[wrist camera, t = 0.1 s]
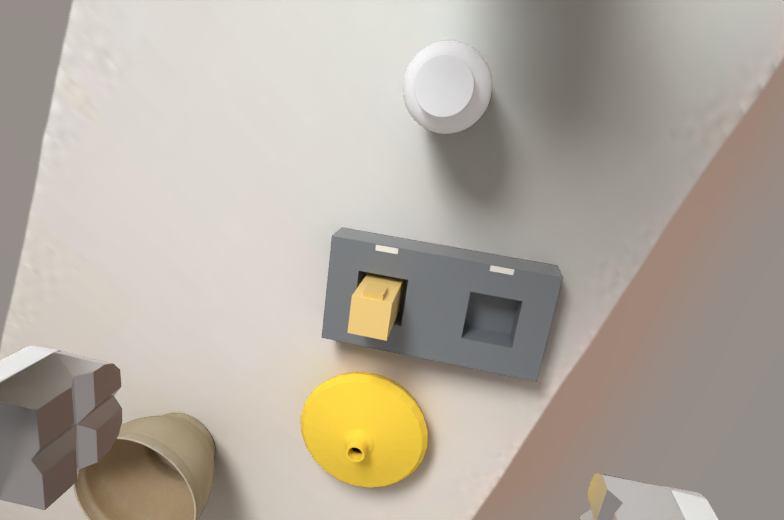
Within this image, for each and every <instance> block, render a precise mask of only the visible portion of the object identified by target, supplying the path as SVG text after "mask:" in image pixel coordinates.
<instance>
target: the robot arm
mask: <svg viewBox="0 0 784 520" xmlns="http://www.w3.org/2000/svg"><path fill="white" fill-rule="evenodd" d="M120 388H121V376H120V369H119V368H118V367H116V366H115V365H114V364H113V363H109V362H105V361H101V360H97V359H93V358H89V357H85V356H81V355H77V354H73V353H69V352H62V351H60V350H56V349H52V348H47V347H43V346H28V347H26V348H24V349H22V350H20V351H18V352H16V353H14V354H12V355H10V356H8V357H6V358H4V359H2V360H0V500H4V501H8V502H12V503H17V504H21V505H25V506H29V507H34V508H38V509H42V510H46V509H47V508H48V507H49V506H50V505H51V504H52V503H53V502H55V501H56V500H57V499H58V498H59V497H60V496H61V495H62V494H63V493H64V492H66V491H67V490H68V489H69V488H70V487H71V486H72V485H73V484H74V483H75V482H77V481H78V474H79V469H81V468H84V467H87V466H89V465H92V464H94V463H97V462H98V461H99V460H101V459H102V458H103V457H104V456H105V455H106V454H107V453H108V452H109V451H110V449H111V448H112V446H113V444H114V442H115V441H116V439H117V437H118V435H119V432H120V428H121V424H122V408H121V406H120V405H119V403H118V402H117V400H116V398H115V397H114V395H115V394H116V392H117V391H118V390H119V389H120ZM587 495H588V499H589V503H590V507H591V509H590V510H589V511H587V512H586V513H584V514H583V515H581V516H580V518H579V520H718V518H717V516H716V515H715V513H714V511H713V510H712V508H711V506H710V504H709V503H708V501H707V499H706V498H705V497H704V496H702V495H701V494H700V493H698V492H692V491H687V490H682V489H677V488H672V487H667V486H664V487H662V486H657V485H652V484H648V483H643V482H639V481H634V480H629V479H624V478H619V477H615V476H610V475H606V474H601V473H596V474H595V475H594V477H593V478H592V480H591V483H590V486H589V489H588V492H587Z"/></svg>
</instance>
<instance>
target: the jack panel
mask: <svg viewBox="0 0 784 520" xmlns="http://www.w3.org/2000/svg"><path fill="white" fill-rule="evenodd" d="M368 273H374V274H379V275H385V276H390V277H395V278H401V279H405V282H404V289H403V295H402V302H401V308H400V310H399V312H398V315H397V317H396V320H395V322H394V324H393V327H392V329H391V331H390V334H389V336H388V339H387V341H385V340H380V339H375V338H370V337H366V336H361V335H356V334H351V333H347V332H348V323H349V315H350V307H351V298H352V295H353V293H354V292H355V290H356V289H357V288H358V286H359V285H360V283H361V282H362V281H363V279H364V278H365V276H366V275H367V274H368ZM562 279H563V276H562V274H561V272H560V270H559V268H558V266H557V265H551V264H546V263H540V262H534V261H529V260H523V259H517V258H512V257H506V256H500V255H495V254H489V253H484V252H478V251H472V250H467V249H461V248H455V247H450V246H444V245H438V244H433V243H427V242H421V241H416V240H410V239H404V238H399V237H393V236H387V235H382V234H376V233H370V232H365V231H359V230H353V229H348V228H341V229H340V230H338V231H337V232H336V233H335V234H334V235H332V242H331V252H330V261H329V271H328V281H327V290H326V300H325V310H324V320H323V329H322V338H326V339H331V340H336V341H341V342H345V343H350V344H355V345H360V346H365V347H370V348H375V349H380V350H384V351H389V352H394V353H399V354H404V355H409V356H414V357H419V358H423V359H428V360H433V361H438V362H443V363H448V364H453V365H457V366H462V367H467V368H472V369H477V370H482V371H487V372H492V373H496V374H501V375H506V376H511V377H516V378H521V379H526V380H531V381H535V382H537V378H538V374H539V370H540V366H541V362H542V358H543V354H544V350H545V346H546V342H547V338H548V334H549V330H550V326H551V323H552V319H553V315H554V311H555V307H556V303H557V299H558V295H559V291H560V287H561V283H562Z"/></svg>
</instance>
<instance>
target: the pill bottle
mask: <svg viewBox="0 0 784 520" xmlns="http://www.w3.org/2000/svg"><path fill="white" fill-rule="evenodd" d="M491 93H492V78H491V73H490V70H489V67H488V65H487V63H486V62H485V60H484V58H483V57H482V56H481V55H480V53H479V52H477V51H476V50H475V49H474V48H472V47H471V46H469V45H467V44H465V43H462V42H459V41H452V40H445V41H439V42H436V43H433V44H431V45H429V46H427V47H425V48H424V49H422V50H421V51H420V52H419V53H418V54H417V55H416V56H415V57H414V58H413V59H412V61H411V62H410V64H409V66H408V68H407V70H406V73H405V76H404V81H403V97H404V101H405V105H406V107H407V109H408V111H409V113H410V114H411V116H412V117H413V119H414V120H415V121H416V122H417V123H418V124H419V125H421V126H422V127H424V128H426V129H427V130H430V131H432V132H435V133H441V134H451V133H456V132H460V131H463V130H465V129H467V128H469V127H470V126H472V125H473V124H474V123H476V122H477V121H478V120H479V119H480V118H481V117H482V115H483V114H484V113H485V111H486V109H487V107H488V105H489V102H490V98H491Z"/></svg>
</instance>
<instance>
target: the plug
mask: <svg viewBox="0 0 784 520" xmlns="http://www.w3.org/2000/svg"><path fill="white" fill-rule="evenodd" d="M404 282H405V279H401V278H395V277H390V276H385V275H379V274H374V273H368V274H367V275H366V276H365V278H364V279H363V281H362V282H361V283H360V285H359V286H358V288H357V289H356V290H355V292H354V293H353V295H352V298H351V307H350V315H349V323H348V332H347V333H351V334H356V335H361V336H366V337H370V338H375V339H380V340H385V341H387V339H388V336H389V334H390V331H391V329H392V327H393V324H394V322H395V320H396V317H397V315H398V312H399V310H400V308H401V302H402V295H403V289H404Z"/></svg>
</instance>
